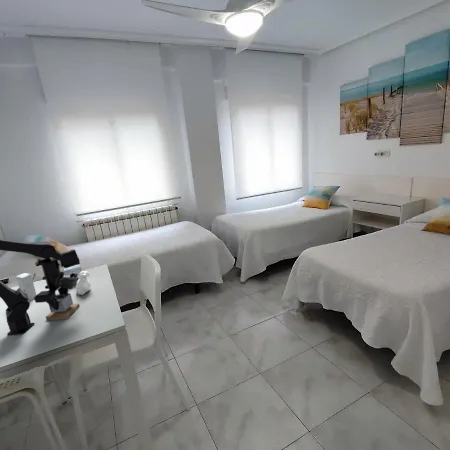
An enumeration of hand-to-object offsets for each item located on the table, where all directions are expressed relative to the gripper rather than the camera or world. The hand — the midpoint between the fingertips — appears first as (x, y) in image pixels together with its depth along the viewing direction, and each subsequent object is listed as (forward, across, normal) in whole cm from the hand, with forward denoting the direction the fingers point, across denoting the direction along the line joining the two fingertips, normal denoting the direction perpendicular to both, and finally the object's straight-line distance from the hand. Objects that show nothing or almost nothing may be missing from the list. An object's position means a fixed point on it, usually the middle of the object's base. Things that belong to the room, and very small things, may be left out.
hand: (61, 305), depth 114 cm
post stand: (+4, 0, 0) cm, 4 cm away
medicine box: (+4, +30, +12) cm, 33 cm away
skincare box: (+4, +16, +27) cm, 32 cm away
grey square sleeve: (+1, 0, 0) cm, 1 cm away
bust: (+4, +19, +1) cm, 19 cm away
